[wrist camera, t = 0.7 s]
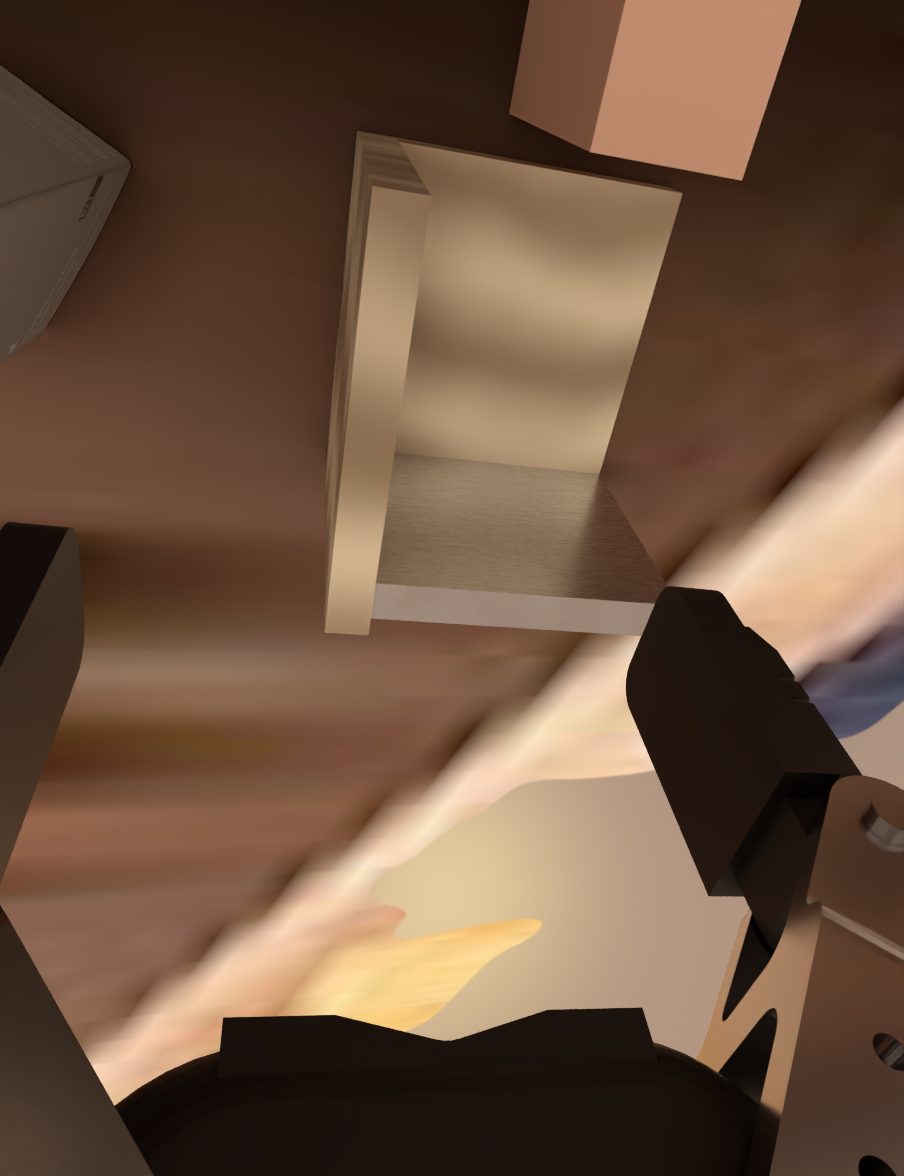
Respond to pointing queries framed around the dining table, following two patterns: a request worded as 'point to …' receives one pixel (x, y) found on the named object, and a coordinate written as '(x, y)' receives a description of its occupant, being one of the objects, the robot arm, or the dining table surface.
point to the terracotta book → (653, 77)
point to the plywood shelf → (476, 328)
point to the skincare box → (46, 207)
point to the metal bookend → (510, 549)
